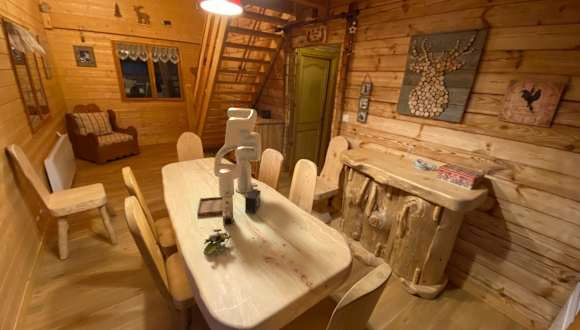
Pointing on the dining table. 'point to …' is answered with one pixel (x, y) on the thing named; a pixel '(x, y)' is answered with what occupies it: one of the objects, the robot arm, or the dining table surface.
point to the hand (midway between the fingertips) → (228, 219)
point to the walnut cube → (229, 215)
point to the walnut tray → (210, 206)
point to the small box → (252, 201)
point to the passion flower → (216, 241)
